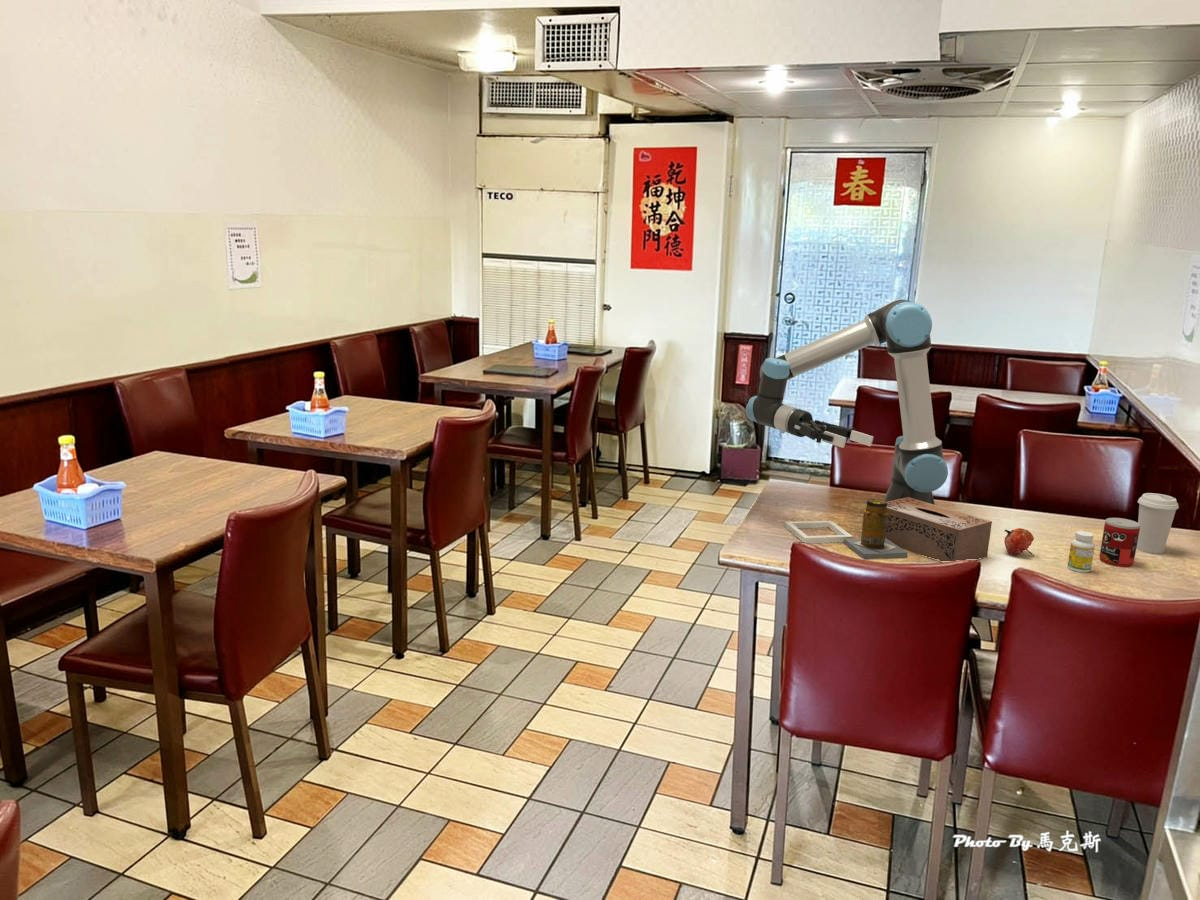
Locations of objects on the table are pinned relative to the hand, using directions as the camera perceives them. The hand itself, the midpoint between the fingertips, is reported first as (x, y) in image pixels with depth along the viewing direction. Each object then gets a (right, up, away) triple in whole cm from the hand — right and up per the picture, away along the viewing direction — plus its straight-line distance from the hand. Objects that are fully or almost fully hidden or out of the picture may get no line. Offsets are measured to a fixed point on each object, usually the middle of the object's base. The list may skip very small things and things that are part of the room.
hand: (858, 442), depth 242 cm
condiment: (+4, -28, -3) cm, 28 cm away
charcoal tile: (+4, -29, -2) cm, 29 cm away
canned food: (+66, -32, -5) cm, 73 cm away
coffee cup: (+81, -30, +6) cm, 87 cm away
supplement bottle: (+53, -33, -11) cm, 63 cm away
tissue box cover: (+19, -29, +2) cm, 35 cm away
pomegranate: (+42, -30, -1) cm, 52 cm away
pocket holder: (-9, -26, +9) cm, 29 cm away
